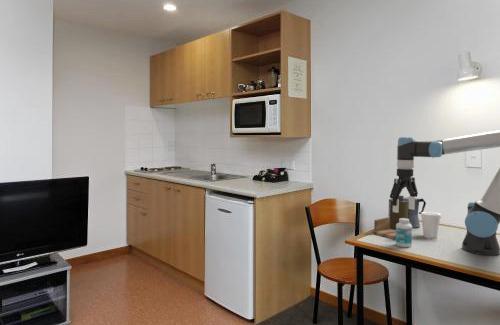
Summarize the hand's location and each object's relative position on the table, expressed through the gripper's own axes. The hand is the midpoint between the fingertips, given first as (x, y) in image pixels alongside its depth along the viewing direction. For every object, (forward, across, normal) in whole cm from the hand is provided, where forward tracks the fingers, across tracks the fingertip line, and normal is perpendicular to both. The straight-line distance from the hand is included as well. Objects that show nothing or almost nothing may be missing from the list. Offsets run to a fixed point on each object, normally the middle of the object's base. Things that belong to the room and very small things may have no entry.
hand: (403, 210), depth 169 cm
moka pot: (+18, -40, -19) cm, 48 cm away
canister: (+18, -28, -21) cm, 39 cm away
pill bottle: (+18, 0, 0) cm, 18 cm away
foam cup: (+18, -27, -1) cm, 32 cm away
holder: (+18, -12, -14) cm, 26 cm away
